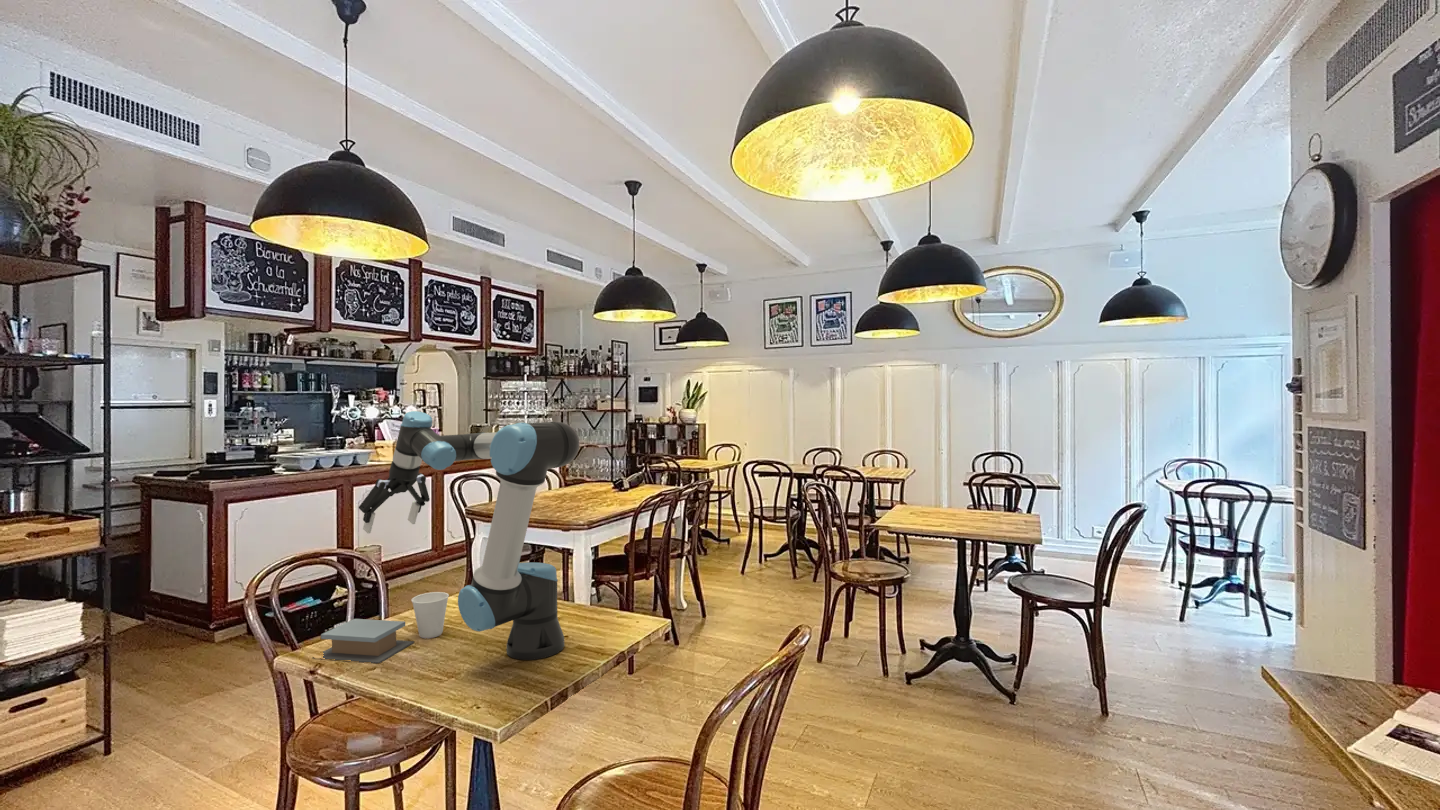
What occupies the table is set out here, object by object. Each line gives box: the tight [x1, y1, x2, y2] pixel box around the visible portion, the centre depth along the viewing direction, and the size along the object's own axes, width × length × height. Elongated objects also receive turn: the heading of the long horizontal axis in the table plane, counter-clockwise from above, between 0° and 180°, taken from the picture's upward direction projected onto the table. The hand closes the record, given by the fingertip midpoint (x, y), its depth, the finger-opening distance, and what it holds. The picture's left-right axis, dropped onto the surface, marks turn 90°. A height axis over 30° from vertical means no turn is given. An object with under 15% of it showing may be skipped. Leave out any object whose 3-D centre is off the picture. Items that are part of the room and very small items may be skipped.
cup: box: [410, 591, 450, 639], centre depth 183 cm, size 10×10×11 cm
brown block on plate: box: [322, 631, 415, 664], centre depth 172 cm, size 20×14×5 cm
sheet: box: [320, 618, 406, 642], centre depth 172 cm, size 16×12×1 cm
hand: (389, 526), depth 186 cm, fingers open, 13 cm apart
